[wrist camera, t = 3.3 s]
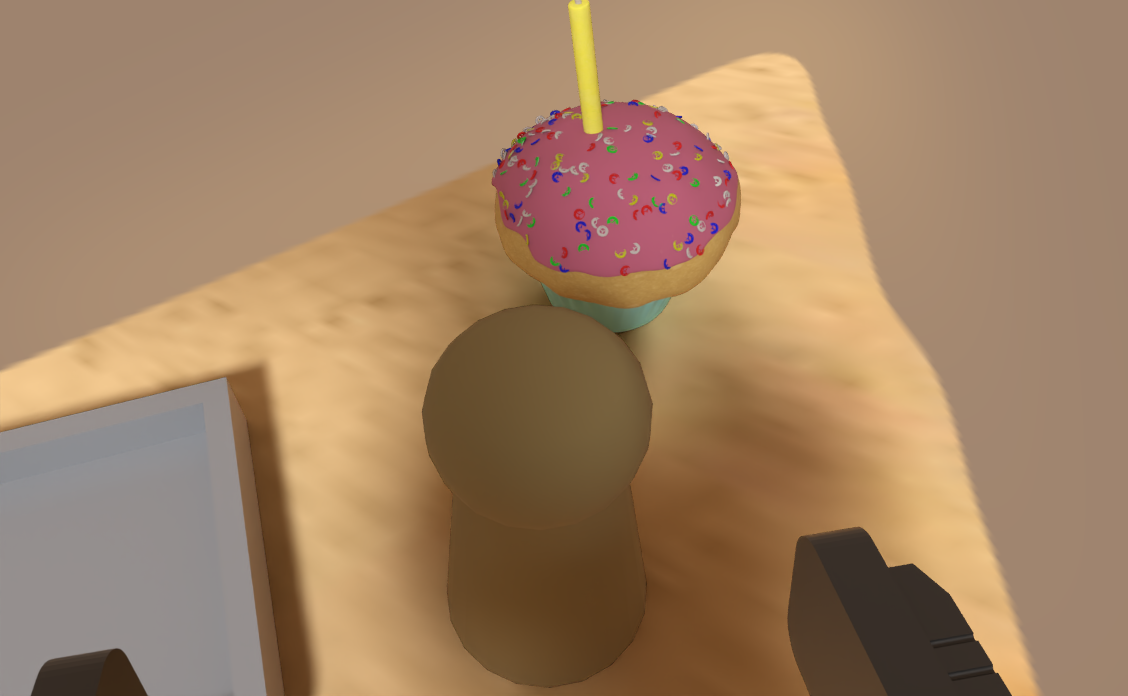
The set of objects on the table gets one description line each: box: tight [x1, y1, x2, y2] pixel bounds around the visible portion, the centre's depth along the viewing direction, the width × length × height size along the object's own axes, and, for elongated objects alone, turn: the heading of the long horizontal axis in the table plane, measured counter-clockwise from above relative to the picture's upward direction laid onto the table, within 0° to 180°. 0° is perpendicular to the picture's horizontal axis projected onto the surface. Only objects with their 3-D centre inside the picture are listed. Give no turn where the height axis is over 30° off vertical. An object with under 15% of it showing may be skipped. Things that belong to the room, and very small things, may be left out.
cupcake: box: [492, 0, 741, 333], centre depth 32 cm, size 9×8×12 cm
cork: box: [422, 305, 653, 688], centre depth 25 cm, size 6×6×11 cm
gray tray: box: [0, 377, 285, 696], centre depth 27 cm, size 14×12×2 cm
